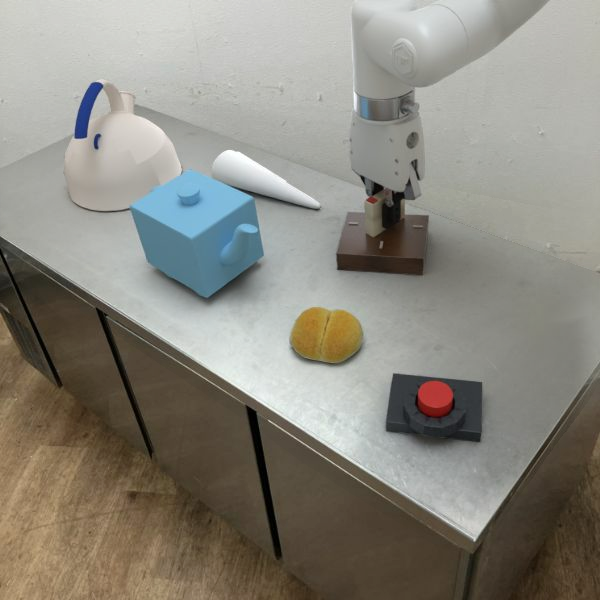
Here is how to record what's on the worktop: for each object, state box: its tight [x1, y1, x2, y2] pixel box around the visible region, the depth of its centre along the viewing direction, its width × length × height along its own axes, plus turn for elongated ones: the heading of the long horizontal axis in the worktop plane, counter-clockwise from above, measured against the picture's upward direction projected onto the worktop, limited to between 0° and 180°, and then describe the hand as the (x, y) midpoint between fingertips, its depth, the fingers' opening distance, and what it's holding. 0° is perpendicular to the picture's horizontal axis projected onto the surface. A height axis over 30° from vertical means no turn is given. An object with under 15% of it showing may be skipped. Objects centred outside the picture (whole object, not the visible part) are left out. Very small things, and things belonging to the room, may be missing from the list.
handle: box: [363, 188, 406, 237], centre depth 91 cm, size 6×2×6 cm, turn 131°
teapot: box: [129, 168, 265, 299], centre depth 89 cm, size 22×11×14 cm, turn 48°
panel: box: [335, 211, 430, 276], centre depth 94 cm, size 12×12×3 cm
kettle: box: [63, 78, 183, 212], centre depth 110 cm, size 20×21×18 cm
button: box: [418, 381, 453, 418], centre depth 69 cm, size 4×4×2 cm
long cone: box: [210, 149, 322, 210], centre depth 106 cm, size 6×6×19 cm
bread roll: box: [288, 306, 364, 364], centre depth 80 cm, size 8×9×4 cm
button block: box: [385, 373, 483, 443], centre depth 71 cm, size 10×8×4 cm
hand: (385, 219), depth 93 cm, fingers closed on handle
